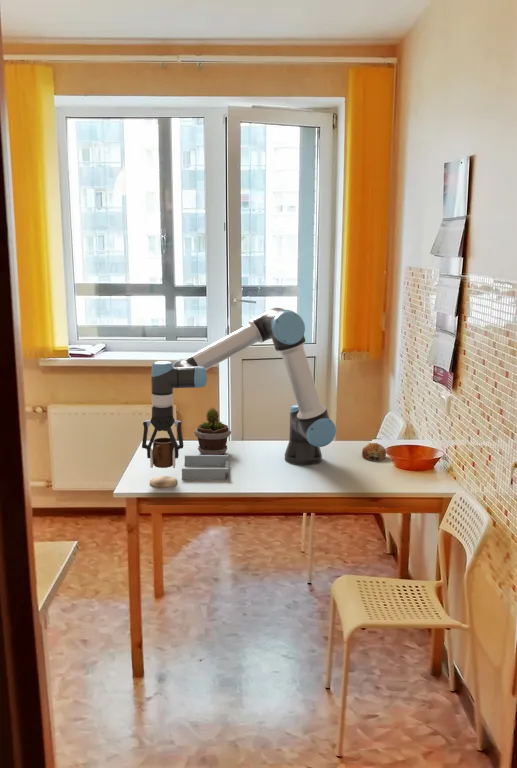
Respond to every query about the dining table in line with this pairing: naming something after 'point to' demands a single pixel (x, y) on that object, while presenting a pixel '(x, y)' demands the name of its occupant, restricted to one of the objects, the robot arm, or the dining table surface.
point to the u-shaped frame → (206, 472)
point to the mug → (163, 452)
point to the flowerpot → (212, 435)
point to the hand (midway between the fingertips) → (163, 466)
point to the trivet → (163, 482)
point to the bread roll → (374, 452)
